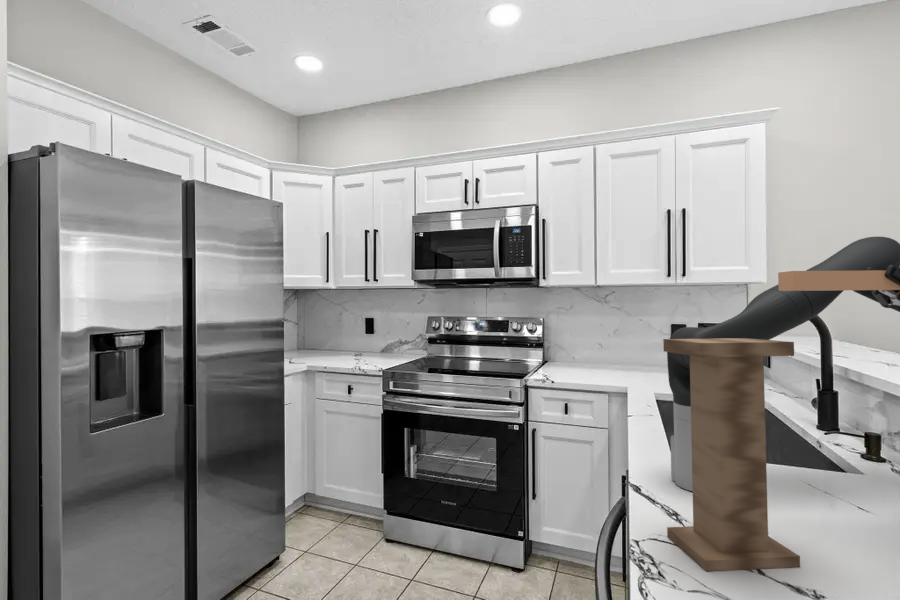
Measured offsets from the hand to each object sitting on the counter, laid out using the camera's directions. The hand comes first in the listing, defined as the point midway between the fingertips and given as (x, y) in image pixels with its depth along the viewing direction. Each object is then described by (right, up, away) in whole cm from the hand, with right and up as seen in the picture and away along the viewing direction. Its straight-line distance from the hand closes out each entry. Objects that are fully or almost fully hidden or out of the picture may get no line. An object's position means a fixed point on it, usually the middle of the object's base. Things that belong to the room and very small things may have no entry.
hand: (878, 271), depth 74 cm
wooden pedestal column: (-26, -43, -4) cm, 51 cm away
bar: (-4, -3, 0) cm, 5 cm away
